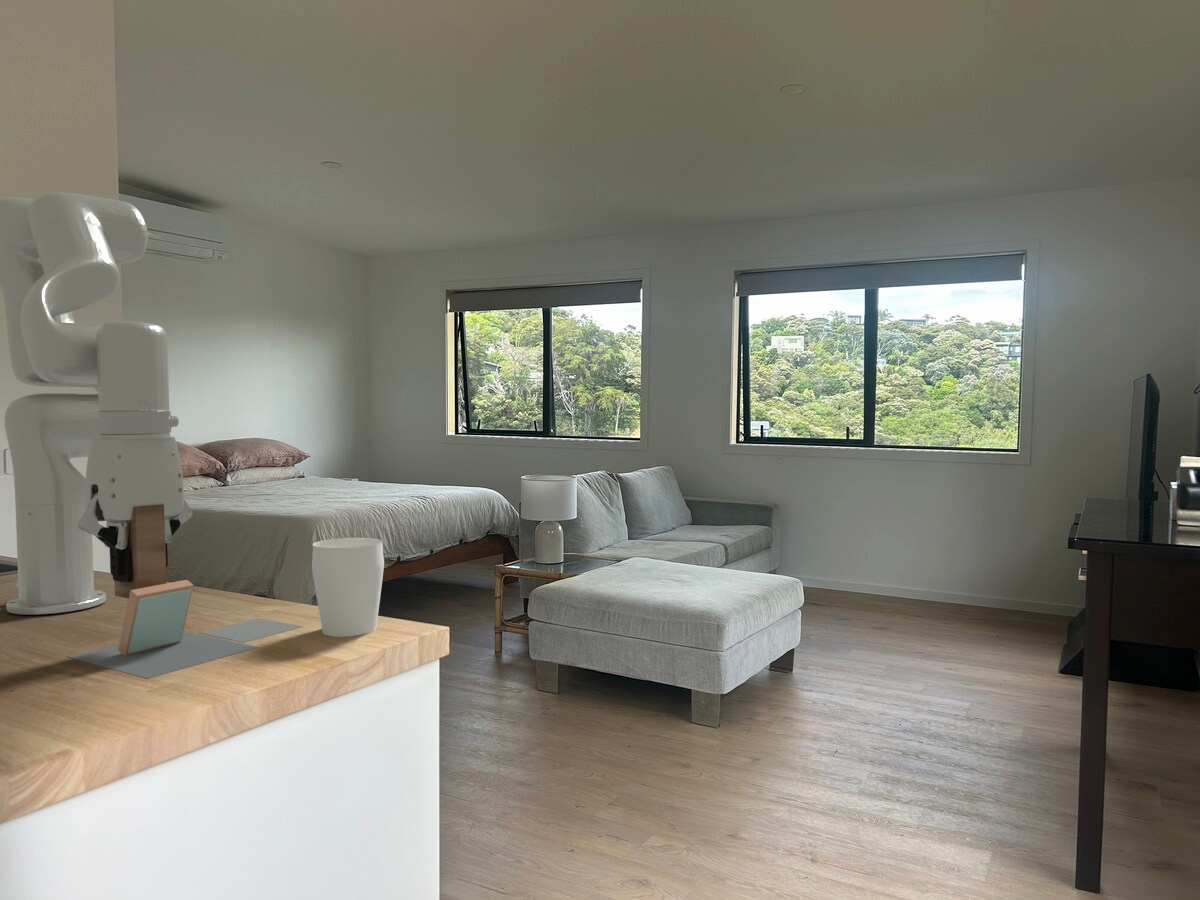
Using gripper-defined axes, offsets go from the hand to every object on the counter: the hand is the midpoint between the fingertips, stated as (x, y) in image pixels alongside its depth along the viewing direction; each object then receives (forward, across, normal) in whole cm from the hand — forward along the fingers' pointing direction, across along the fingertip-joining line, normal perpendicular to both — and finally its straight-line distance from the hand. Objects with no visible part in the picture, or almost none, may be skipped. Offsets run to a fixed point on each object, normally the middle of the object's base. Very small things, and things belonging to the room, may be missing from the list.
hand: (139, 576), depth 105 cm
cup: (+9, -19, +16) cm, 26 cm away
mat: (+9, 0, +5) cm, 10 cm away
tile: (+8, 0, +2) cm, 8 cm away
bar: (+2, 0, 0) cm, 2 cm away
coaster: (+9, -12, +5) cm, 16 cm away
